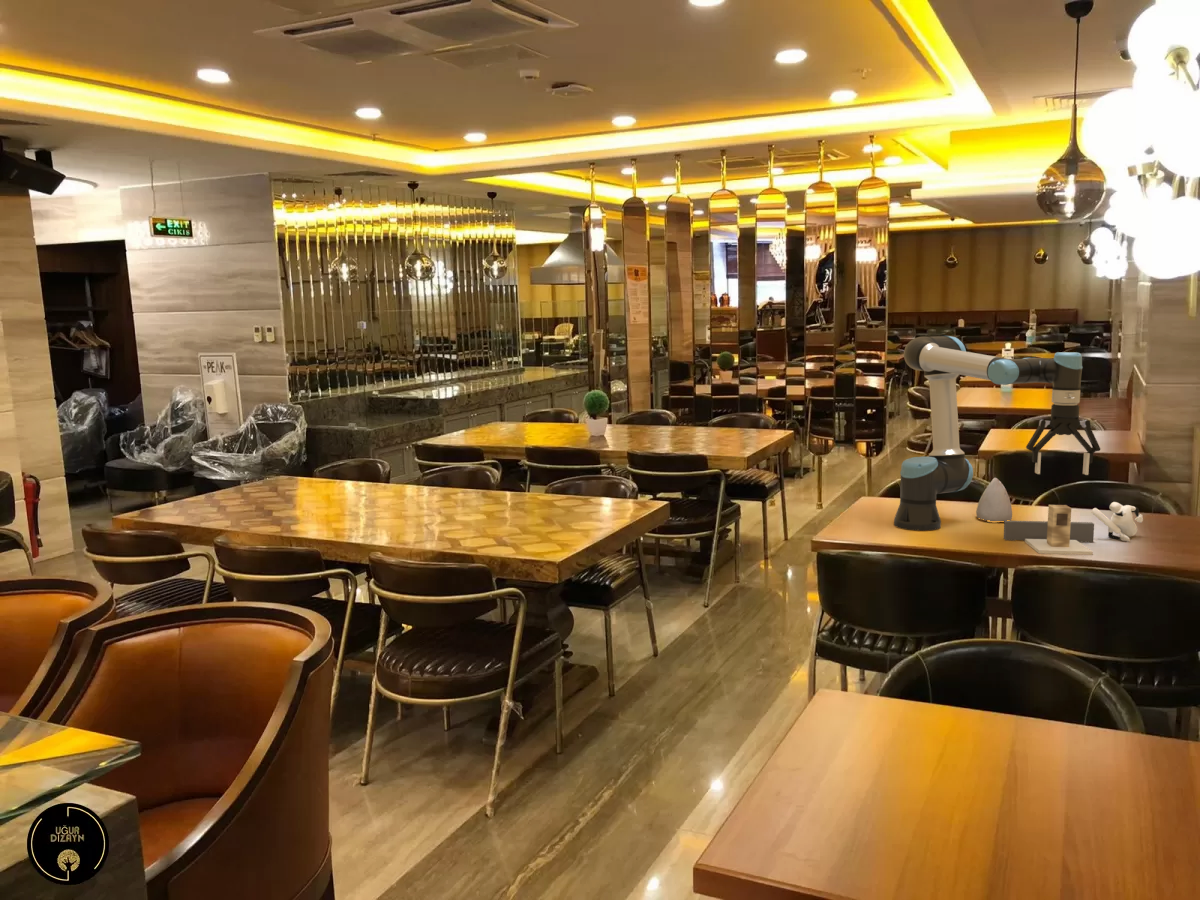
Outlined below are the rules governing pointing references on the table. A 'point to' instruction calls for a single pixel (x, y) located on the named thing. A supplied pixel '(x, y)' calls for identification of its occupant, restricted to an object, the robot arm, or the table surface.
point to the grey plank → (1045, 530)
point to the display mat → (1045, 548)
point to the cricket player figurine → (1120, 520)
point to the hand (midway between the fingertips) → (1061, 473)
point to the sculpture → (994, 503)
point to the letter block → (1059, 525)
